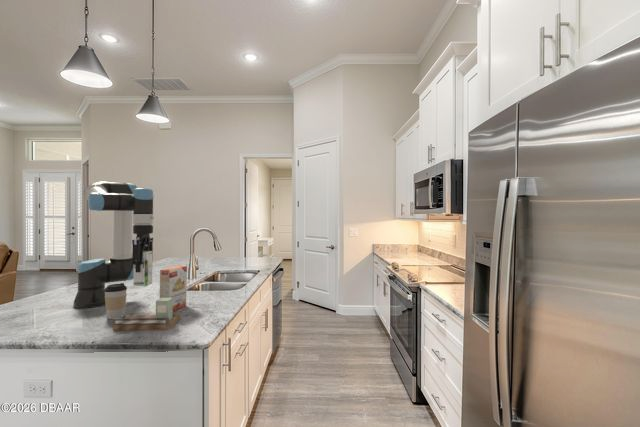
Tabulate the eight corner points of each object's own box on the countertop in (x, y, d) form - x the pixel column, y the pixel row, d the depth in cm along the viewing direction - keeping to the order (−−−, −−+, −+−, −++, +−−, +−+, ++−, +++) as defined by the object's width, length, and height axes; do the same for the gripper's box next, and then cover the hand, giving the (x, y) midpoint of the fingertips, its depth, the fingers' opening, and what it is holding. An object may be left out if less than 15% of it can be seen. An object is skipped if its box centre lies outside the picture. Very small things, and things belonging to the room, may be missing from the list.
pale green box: (155, 322, 138) (155, 300, 138) (160, 318, 143) (160, 297, 143) (167, 322, 138) (167, 300, 138) (172, 318, 143) (172, 297, 143)
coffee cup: (110, 321, 145) (110, 287, 145) (100, 317, 149) (100, 284, 149) (130, 315, 152) (131, 283, 152) (120, 312, 157) (121, 281, 157)
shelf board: (112, 330, 133) (112, 319, 133) (131, 319, 147) (131, 309, 147) (167, 329, 134) (167, 318, 134) (180, 318, 148) (180, 308, 148)
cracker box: (169, 313, 156) (170, 270, 156) (158, 313, 157) (158, 269, 157) (187, 305, 169) (187, 265, 169) (176, 305, 170) (177, 265, 170)
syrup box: (132, 286, 137) (132, 252, 137) (139, 283, 142) (139, 250, 142) (146, 286, 137) (147, 251, 137) (152, 283, 143) (153, 250, 143)
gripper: (141, 225, 131) (140, 282, 130) (161, 223, 149) (161, 274, 149) (122, 225, 130) (121, 283, 130) (144, 223, 149) (144, 274, 149)
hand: (142, 278), depth 140 cm, fingers closed on syrup box, 6 cm apart
